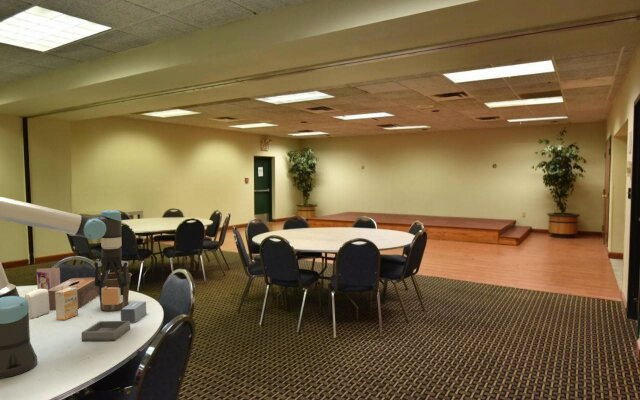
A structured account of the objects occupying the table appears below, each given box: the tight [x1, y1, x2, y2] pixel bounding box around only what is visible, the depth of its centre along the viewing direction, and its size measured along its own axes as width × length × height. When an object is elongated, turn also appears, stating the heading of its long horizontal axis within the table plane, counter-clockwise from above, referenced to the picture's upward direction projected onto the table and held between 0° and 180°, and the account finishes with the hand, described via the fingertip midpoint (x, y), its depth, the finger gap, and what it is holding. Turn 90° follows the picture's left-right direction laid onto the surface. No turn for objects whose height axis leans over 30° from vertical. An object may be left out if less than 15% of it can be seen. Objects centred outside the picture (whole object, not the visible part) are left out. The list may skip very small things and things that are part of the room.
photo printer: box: [24, 288, 50, 320], centre depth 197 cm, size 10×4×12 cm, turn 162°
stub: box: [102, 287, 119, 305], centre depth 175 cm, size 5×6×6 cm
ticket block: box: [120, 300, 147, 324], centre depth 191 cm, size 12×6×6 cm, turn 179°
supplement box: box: [55, 288, 79, 321], centre depth 193 cm, size 8×5×13 cm, turn 168°
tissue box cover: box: [48, 276, 99, 311], centre depth 218 cm, size 26×14×10 cm, turn 6°
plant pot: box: [98, 271, 133, 312], centre depth 207 cm, size 16×16×16 cm
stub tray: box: [81, 320, 131, 342], centre depth 171 cm, size 13×13×4 cm
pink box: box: [36, 267, 61, 290], centre depth 231 cm, size 11×7×15 cm, turn 67°
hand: (112, 302), depth 175 cm, fingers closed on stub, 6 cm apart
